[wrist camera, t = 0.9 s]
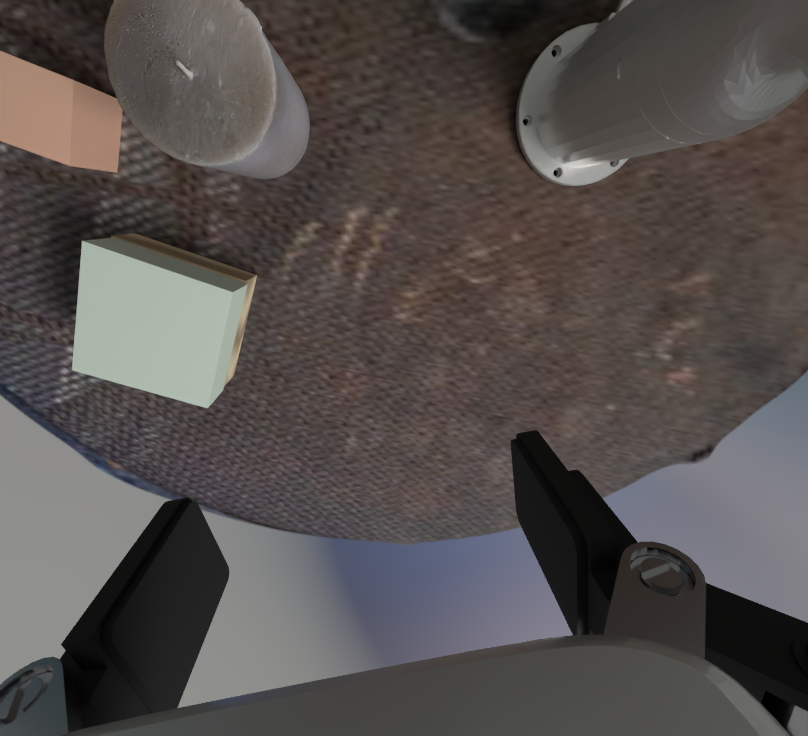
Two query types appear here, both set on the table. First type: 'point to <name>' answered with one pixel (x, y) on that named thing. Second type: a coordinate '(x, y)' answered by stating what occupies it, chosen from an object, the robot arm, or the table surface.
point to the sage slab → (154, 321)
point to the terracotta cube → (58, 116)
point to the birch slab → (210, 266)
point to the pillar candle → (206, 85)
